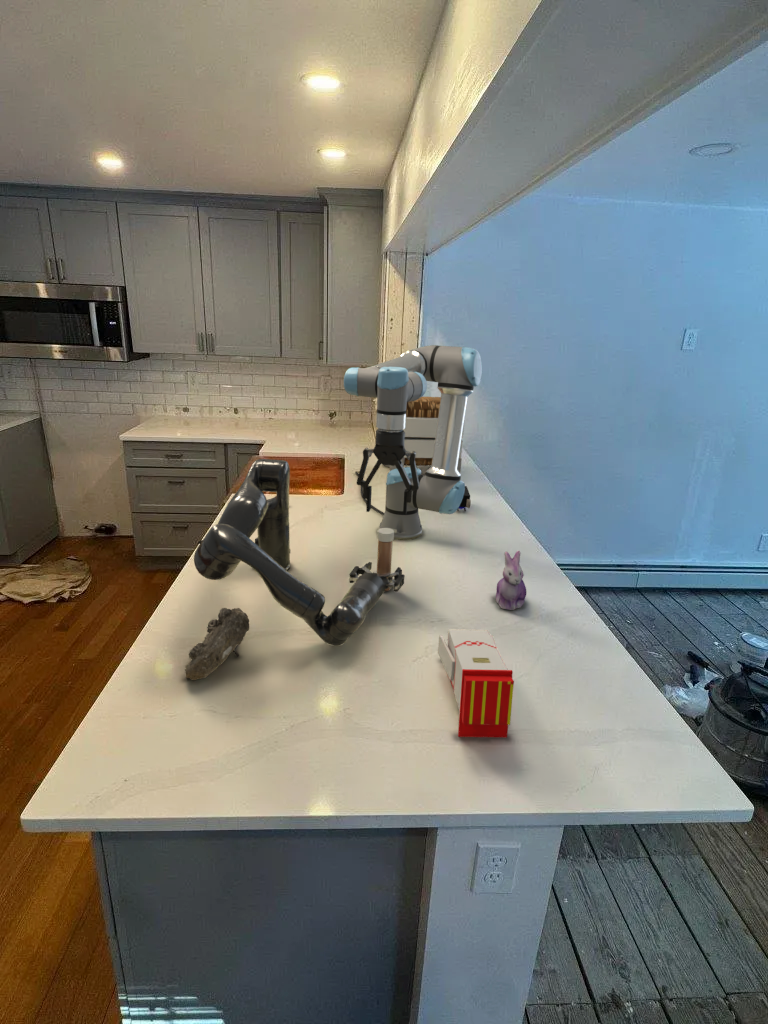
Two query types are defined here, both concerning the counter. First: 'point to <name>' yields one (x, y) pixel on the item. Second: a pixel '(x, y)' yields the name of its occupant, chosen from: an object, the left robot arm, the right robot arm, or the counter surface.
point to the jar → (384, 558)
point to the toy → (478, 682)
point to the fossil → (217, 643)
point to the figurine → (511, 584)
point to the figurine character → (465, 500)
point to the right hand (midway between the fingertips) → (386, 511)
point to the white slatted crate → (422, 431)
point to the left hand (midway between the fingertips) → (384, 567)
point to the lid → (385, 534)
